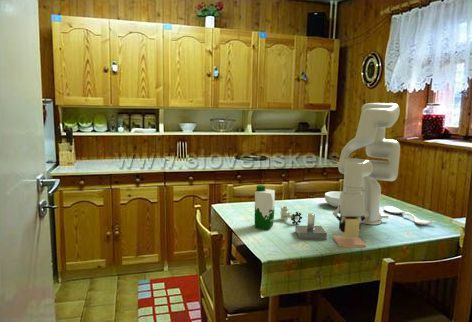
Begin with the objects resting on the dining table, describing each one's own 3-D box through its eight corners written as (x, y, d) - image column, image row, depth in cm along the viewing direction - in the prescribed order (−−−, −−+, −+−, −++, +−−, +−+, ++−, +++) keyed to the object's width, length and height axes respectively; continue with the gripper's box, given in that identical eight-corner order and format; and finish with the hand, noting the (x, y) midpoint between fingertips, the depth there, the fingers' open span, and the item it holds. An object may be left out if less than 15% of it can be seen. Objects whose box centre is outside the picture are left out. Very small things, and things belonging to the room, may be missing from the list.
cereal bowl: (323, 201, 233) (323, 190, 232) (351, 203, 230) (352, 191, 229) (325, 209, 216) (326, 197, 215) (355, 211, 214) (356, 198, 213)
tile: (356, 237, 171) (357, 235, 171) (365, 247, 160) (366, 244, 160) (332, 237, 171) (332, 235, 171) (339, 247, 160) (340, 244, 160)
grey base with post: (320, 231, 178) (321, 211, 176) (326, 239, 168) (327, 217, 167) (295, 231, 178) (296, 210, 176) (299, 239, 168) (300, 217, 166)
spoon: (421, 228, 186) (422, 221, 186) (379, 210, 217) (380, 204, 216) (436, 227, 189) (437, 220, 188) (393, 209, 219) (393, 203, 219)
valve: (276, 219, 196) (291, 226, 186) (277, 207, 195) (292, 213, 185) (286, 217, 199) (302, 224, 189) (287, 205, 198) (302, 211, 188)
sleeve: (353, 232, 168) (355, 215, 167) (358, 237, 162) (359, 219, 161) (340, 232, 168) (341, 215, 166) (344, 237, 162) (345, 219, 161)
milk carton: (257, 223, 189) (258, 183, 186) (275, 225, 186) (276, 185, 183) (252, 228, 181) (253, 187, 178) (270, 231, 178) (272, 189, 174)
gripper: (369, 188, 166) (366, 228, 169) (329, 187, 165) (327, 227, 168) (375, 192, 158) (372, 234, 161) (334, 191, 158) (332, 233, 161)
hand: (349, 230), depth 165 cm, fingers closed on sleeve, 6 cm apart
